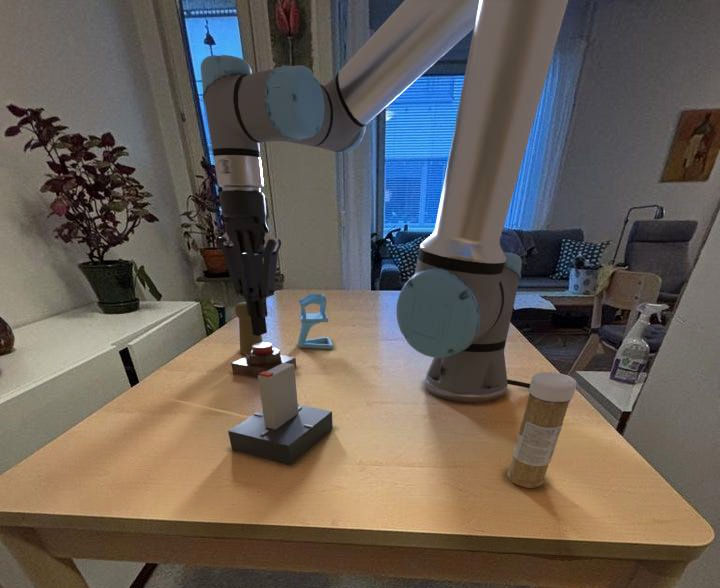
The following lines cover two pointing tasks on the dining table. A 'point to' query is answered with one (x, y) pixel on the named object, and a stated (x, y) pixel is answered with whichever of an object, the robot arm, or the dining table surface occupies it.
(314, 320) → the chair
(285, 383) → the handle
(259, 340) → the cork
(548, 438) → the sprinkles bottle
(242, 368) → the button block
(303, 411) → the panel
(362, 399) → the dining table surface
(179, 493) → the dining table surface
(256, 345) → the button
